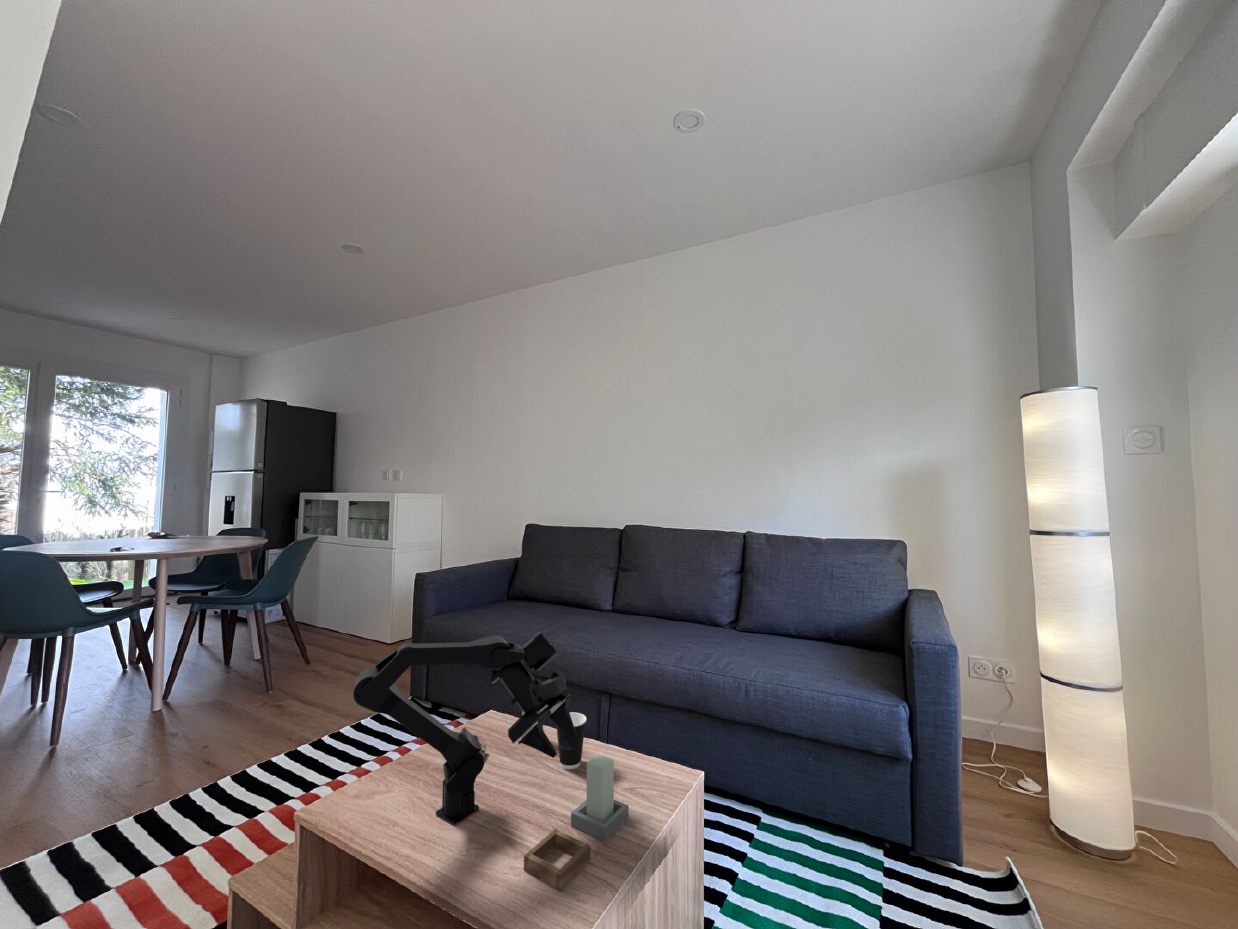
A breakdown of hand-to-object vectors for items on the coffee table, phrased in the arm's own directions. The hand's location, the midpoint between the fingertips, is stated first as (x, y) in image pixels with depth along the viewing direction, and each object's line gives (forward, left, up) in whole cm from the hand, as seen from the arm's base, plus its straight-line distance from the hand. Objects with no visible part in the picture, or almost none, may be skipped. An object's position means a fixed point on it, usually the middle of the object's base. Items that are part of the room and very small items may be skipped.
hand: (565, 745), depth 104 cm
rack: (+8, -12, -14) cm, 20 cm away
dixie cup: (-11, +16, -14) cm, 24 cm away
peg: (+8, +2, -14) cm, 16 cm away
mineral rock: (-35, +3, -14) cm, 37 cm away
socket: (+8, +2, -14) cm, 16 cm away
